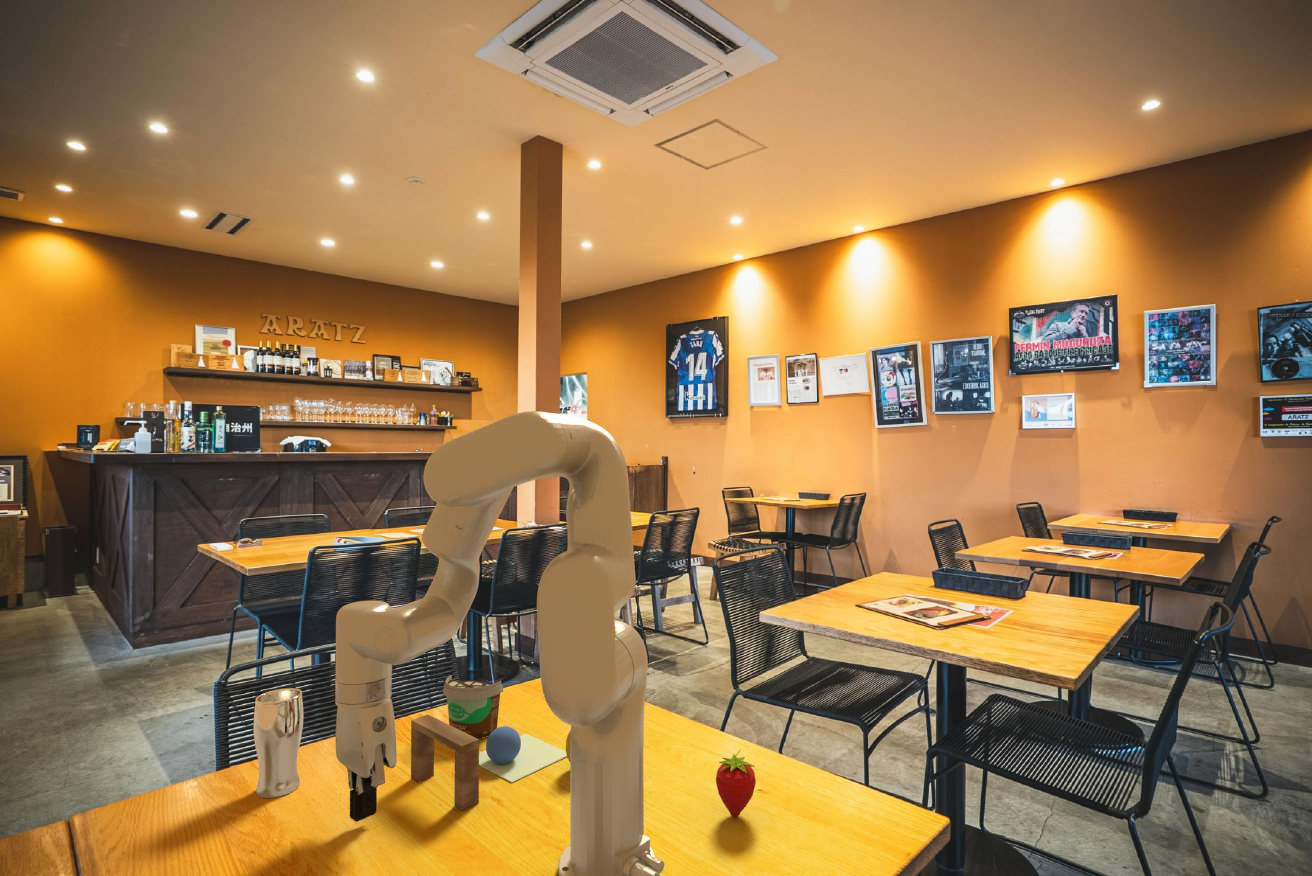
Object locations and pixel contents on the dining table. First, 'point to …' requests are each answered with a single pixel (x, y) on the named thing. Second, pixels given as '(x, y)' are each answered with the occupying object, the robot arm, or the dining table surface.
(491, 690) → the food container
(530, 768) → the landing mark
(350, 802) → the robot arm
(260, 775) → the metal pint tumbler
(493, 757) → the ball
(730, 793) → the strawberry
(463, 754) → the bridge
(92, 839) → the dining table surface
